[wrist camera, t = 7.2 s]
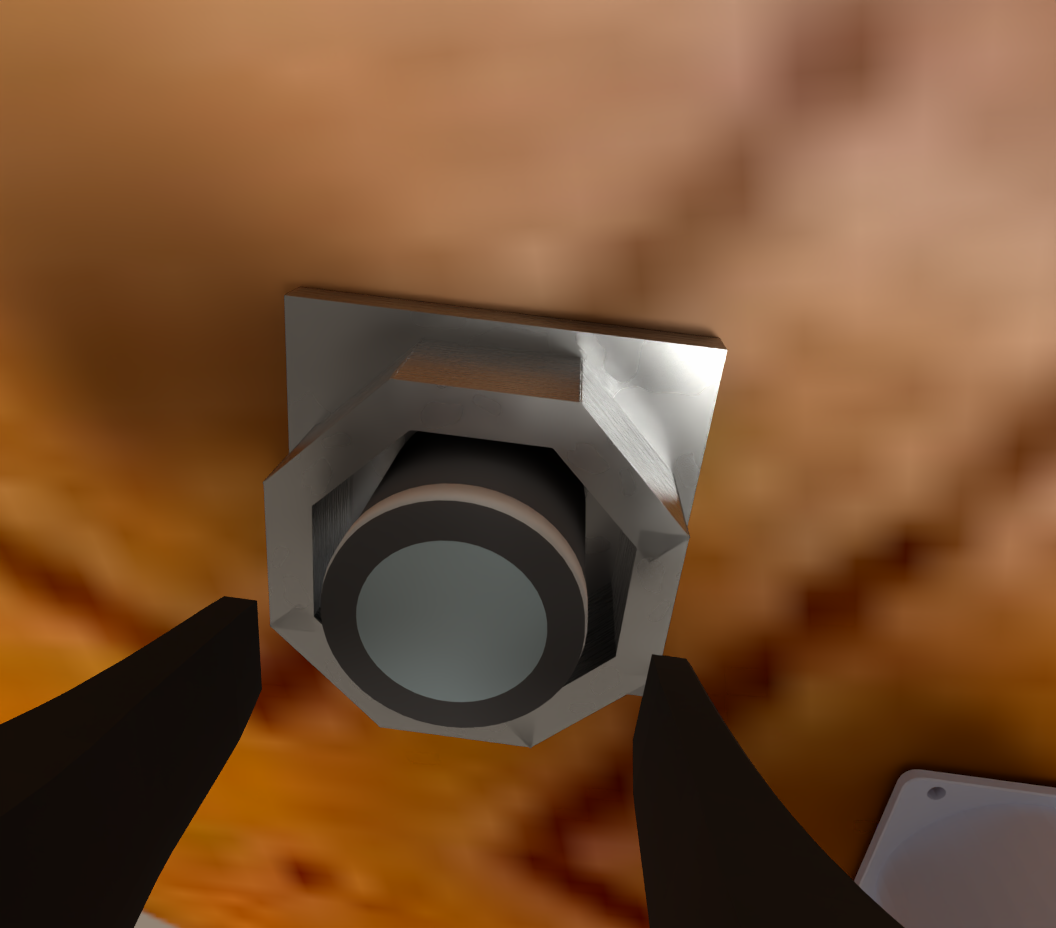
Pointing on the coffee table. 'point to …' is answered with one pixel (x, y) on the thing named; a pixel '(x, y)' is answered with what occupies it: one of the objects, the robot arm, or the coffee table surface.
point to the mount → (501, 415)
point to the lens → (462, 582)
